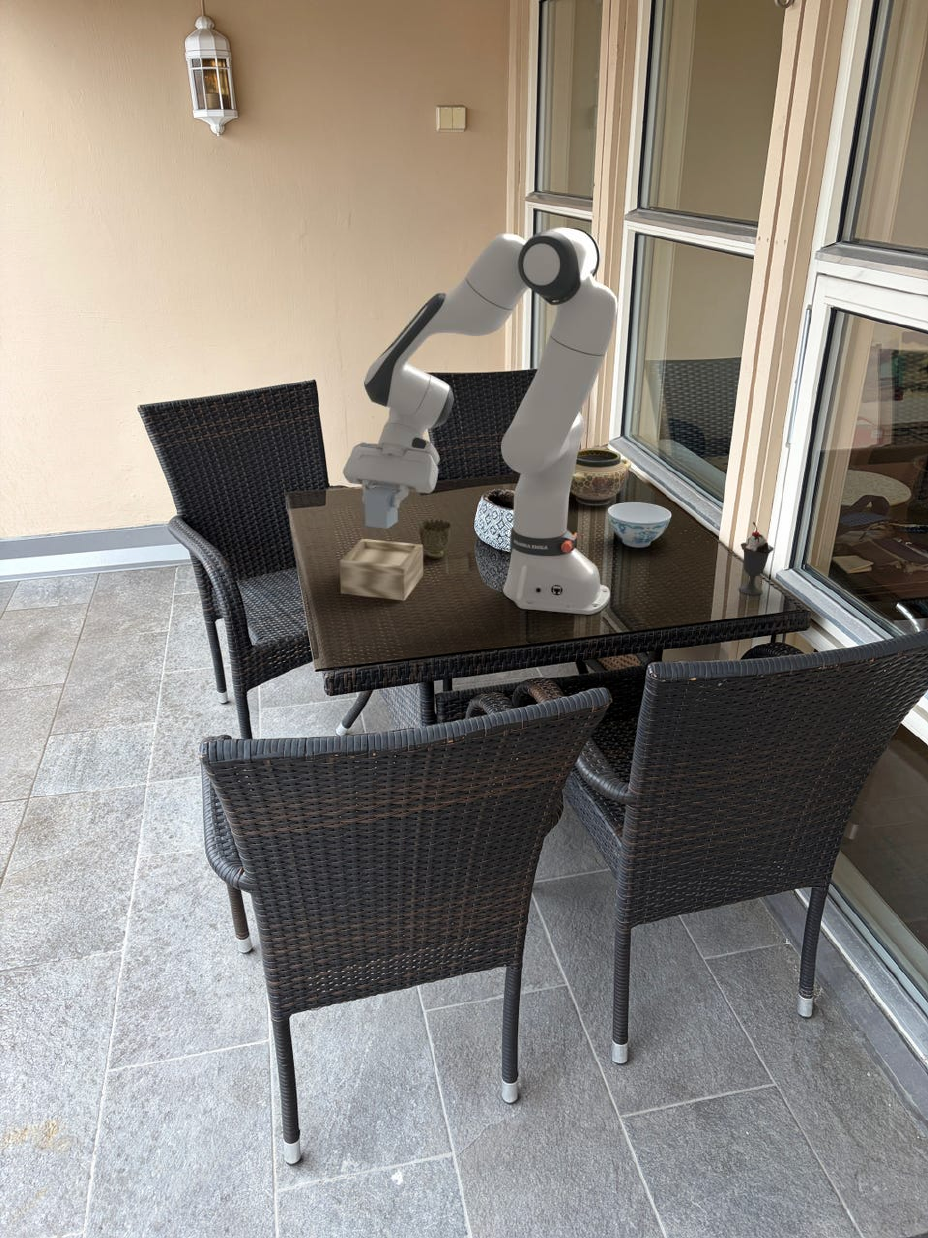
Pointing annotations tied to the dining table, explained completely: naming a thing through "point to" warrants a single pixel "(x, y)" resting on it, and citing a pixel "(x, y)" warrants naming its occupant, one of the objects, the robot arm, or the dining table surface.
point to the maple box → (381, 569)
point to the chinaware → (638, 522)
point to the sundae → (754, 560)
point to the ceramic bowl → (598, 475)
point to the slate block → (380, 508)
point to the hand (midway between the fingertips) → (379, 504)
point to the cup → (435, 537)
